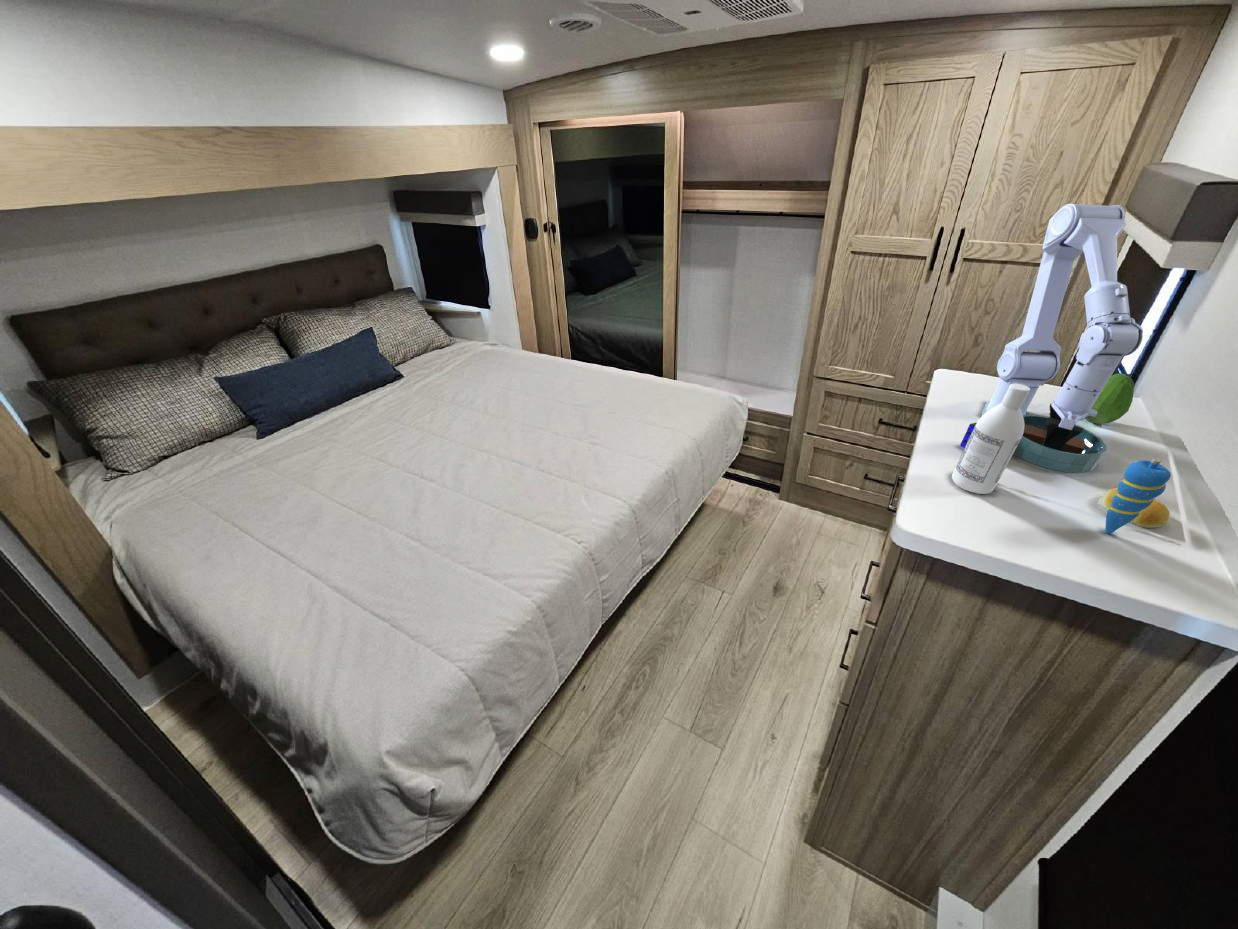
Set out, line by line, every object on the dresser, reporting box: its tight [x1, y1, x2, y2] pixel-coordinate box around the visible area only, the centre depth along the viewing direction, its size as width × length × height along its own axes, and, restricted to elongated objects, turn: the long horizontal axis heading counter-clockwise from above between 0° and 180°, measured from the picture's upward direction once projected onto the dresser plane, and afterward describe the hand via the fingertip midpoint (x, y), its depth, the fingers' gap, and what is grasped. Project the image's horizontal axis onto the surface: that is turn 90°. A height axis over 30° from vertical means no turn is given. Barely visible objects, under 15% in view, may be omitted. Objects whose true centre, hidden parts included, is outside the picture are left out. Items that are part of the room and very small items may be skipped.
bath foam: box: [951, 383, 1030, 495], centre depth 91 cm, size 7×7×20 cm
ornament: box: [1104, 455, 1172, 535], centre depth 81 cm, size 5×5×15 cm
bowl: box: [1013, 414, 1107, 474], centre depth 105 cm, size 16×16×4 cm
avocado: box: [1084, 372, 1135, 425], centre depth 115 cm, size 8×8×12 cm
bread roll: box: [1098, 486, 1171, 529], centre depth 89 cm, size 8×9×4 cm
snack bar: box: [1022, 425, 1085, 454], centre depth 105 cm, size 10×4×3 cm, turn 51°
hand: (1048, 445), depth 105 cm, fingers open, 6 cm apart
